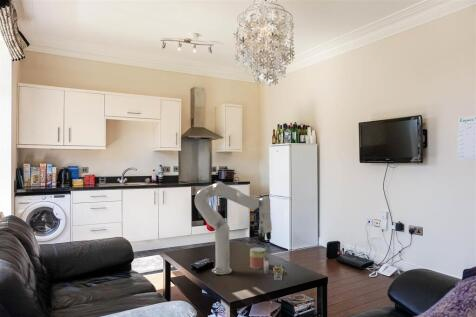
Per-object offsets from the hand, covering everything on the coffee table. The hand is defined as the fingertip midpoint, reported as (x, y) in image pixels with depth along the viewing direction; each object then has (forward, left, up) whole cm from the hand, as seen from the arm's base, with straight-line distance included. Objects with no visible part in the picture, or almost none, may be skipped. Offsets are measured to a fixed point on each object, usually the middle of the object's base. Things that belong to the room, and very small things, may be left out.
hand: (265, 240), depth 221 cm
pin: (-2, -2, -21) cm, 21 cm away
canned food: (+8, +10, -21) cm, 25 cm away
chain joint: (+1, -9, -21) cm, 23 cm away
